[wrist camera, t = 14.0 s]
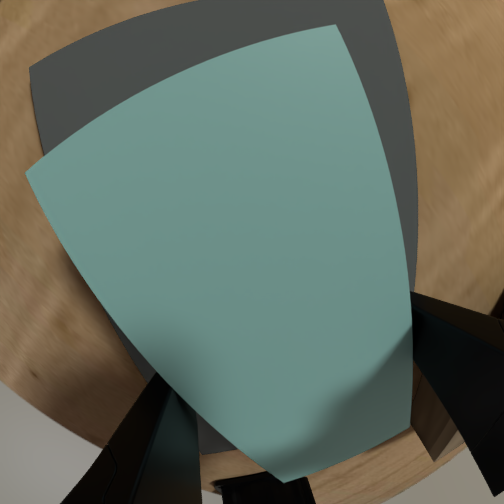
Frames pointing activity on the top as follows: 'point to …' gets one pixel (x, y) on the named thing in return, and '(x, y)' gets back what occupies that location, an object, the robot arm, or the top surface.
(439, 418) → the sleeve box
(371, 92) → the rubber mat
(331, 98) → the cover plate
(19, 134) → the top surface
